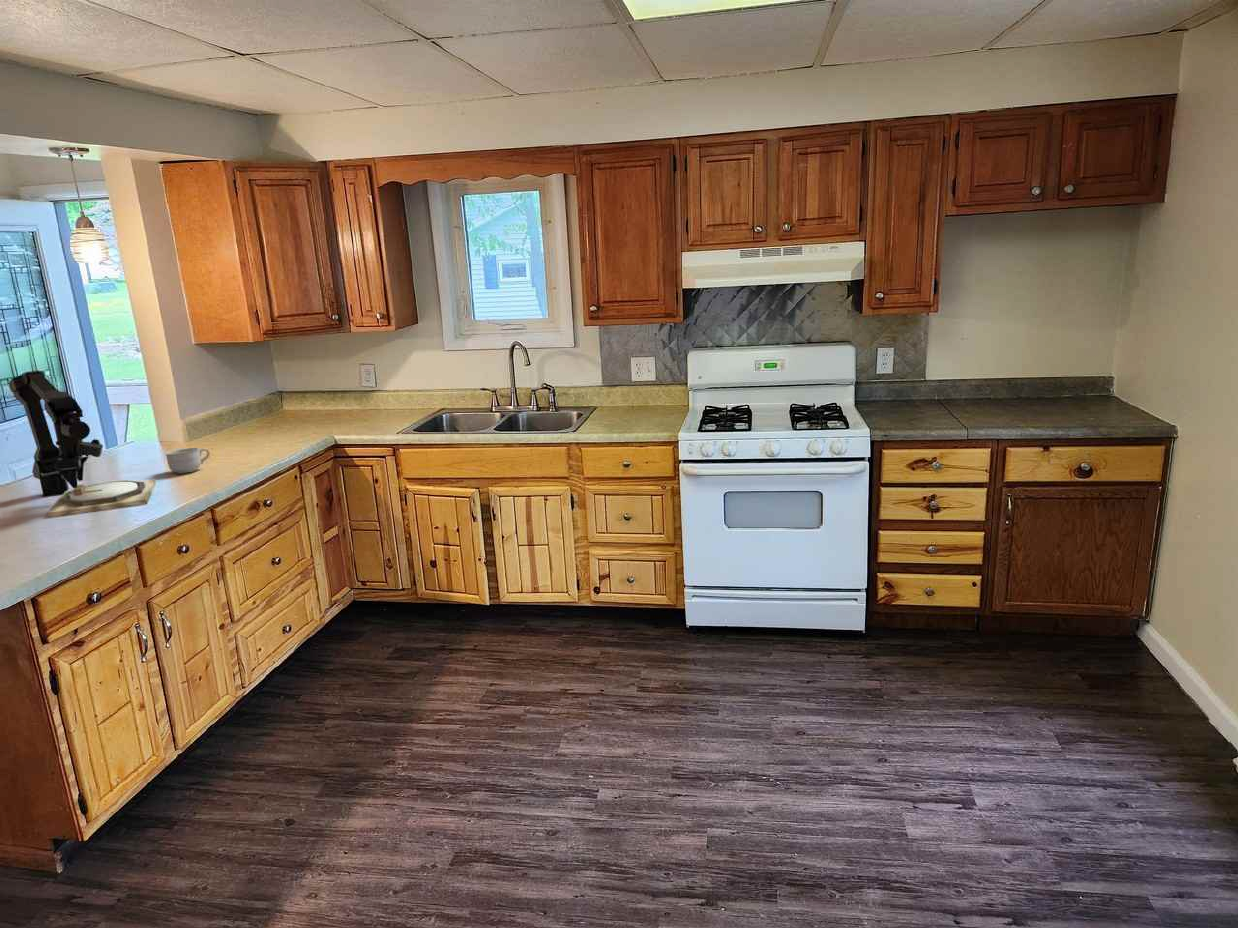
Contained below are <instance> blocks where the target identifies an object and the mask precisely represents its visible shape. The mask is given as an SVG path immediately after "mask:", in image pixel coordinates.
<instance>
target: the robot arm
mask: <svg viewBox="0 0 1238 928" xmlns="http://www.w3.org/2000/svg"><path fill="white" fill-rule="evenodd" d="M8 387H9V390H10V391H11V393H12V395H13V397H14V399H16V400H17V401H18V402H19V403H21V404H22V405H23V407H24V411H25V413H26V417H27V420H28V423H29V427H30V429H31V433H32V437H33V439H34V443H35V445H36V446H35V447H36V449H35V453H34V455H33V460H34V462H33V467H32V474H33V477H34V478H35V479H37V480H39V482H40V486H41V487H40V488H41V490H42V494H41V497H43V498H44V497H49V496H57V495H58V496H59V495H63V494H64V492H65V491H69V489H70V488H69V485H70V486H71V487H72V488H73V489H74V488H77V485H78V481H79V482H82V481H83V480H84V469H85V468H84V467H85V463H86V461H87V460H88V459H89V458H90V457H89V456H91V457H96V458H100V457H101V455H102V453H103V447H104V446H103V444H102V443H101V442H100V440H99V439H96V438H93V439H92V440H91V441H90V442H89V441H83V440H84V439H86V438H88V436H90V434H91V433H90V432H91V429H90V426H89V425H88V423H86V422H85V421H83V420H81V418H83V417H84V414H83V409H82V408H81V407H80V405H79V403H78V402H77V401H76V399H75V398H73V396H71V394H68V393H67V392H64V391H60V390H59V389H57V388H56V387H55V385H53V383H51V381H50V380H49V379H48V378H47V377H45V374H44V372H43V370H32V371H25V372H23V373H21V374H20V375H18V376H15V377H12V378H11V379H10V380H9V381H8ZM41 399H42V400H43V402H44V404H43V405H44V407H43V405H42V402H41ZM43 408H44V409H43ZM44 410H45V412H44ZM45 413H47V415H48V416H49V418H50V419H51V422H53V423H52V424H53V428H54V432H55V436H56V437H55V438H56V441H55V444H54V441H53V437H52V433H51V431H50V428H49V426H48V425H49V424H48V422H47V418H46V415H45Z"/></svg>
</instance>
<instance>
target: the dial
mask: <svg viewBox="0 0 1238 928" xmlns="http://www.w3.org/2000/svg"><path fill="white" fill-rule="evenodd" d="M111 482H112V483H108V482H104V483H105V484H100V483H98V484H99V485H94V484H93V485H94V486H90V485H88V486H89V487H86V486H85V484H84V483H83V484H77V488H73V489H72V490H73V491H74V492H72V493H71V494H70V495H69V496H70V499H75V500H91V499H98V498H106V497H113V496H117V495H120V494H123V493H126V492H130V491H133V490H136V489H137V488H138V486H137V484H136V483H133V482H116V481H111Z"/></svg>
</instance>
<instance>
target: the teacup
mask: <svg viewBox="0 0 1238 928" xmlns="http://www.w3.org/2000/svg"><path fill="white" fill-rule="evenodd" d="M204 451H205V452H206V456H204V457H203V458H201V455H202V452H204ZM210 455H211V451H210V449H208V448H206V447H202V448H201V447H200V448H199V447H188V448H186V447H185V448H180V449H175V450H170V451H167V452H166V453H165V456H166V461H167V464H168V468H169V469H170V471H172V472H173V473H176V474H186V473H193V472H196V471H197V470H198V469H199V468H200V466H201V465H203V463H204V462H205V461H206V460H208V459H209V457H210Z"/></svg>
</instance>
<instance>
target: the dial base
mask: <svg viewBox="0 0 1238 928" xmlns="http://www.w3.org/2000/svg"><path fill="white" fill-rule="evenodd" d="M112 482H113V481H110V482H109V481H108V482H107V483H112ZM115 482H133V483H136V484H137V486H138V488H137V489H136V490H133V491H130V492H126V493H123V494H120V495H117V496H113V497H106V498H98V499H91V500H75V499H70V496H69V495H70V494H71V493H72V492H74V491H73V490H74V489H72V490H68V491H65V492H64V494H61V496H60V497H59V498H58V499H57V501H56V502H55V503H54V505H53V506H52V507H51V508H50V509H49V511H47V514H48V515H47V516H48V518H54V517H62V516H69V515H77V514H86V513H90V512H99V511H106V510H112V509H119V508H121V509H122V508H129V507H135V506H140V505H147V504H149V500H150V498H151V496H152V494H153V492H154V489H155V487H156V485H157V482H156V479H150V480H142V481H135V480H119V481H118V480H116V481H115ZM105 483H106V482H101V483H96V484H90V485H86V486H85V487H89V486H94V485H99V484H105Z"/></svg>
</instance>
